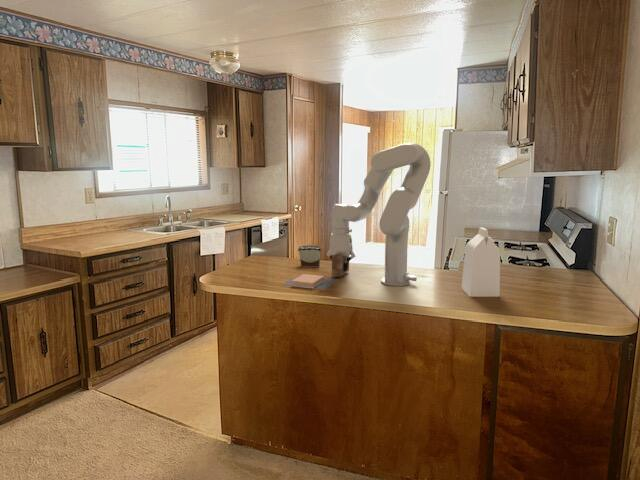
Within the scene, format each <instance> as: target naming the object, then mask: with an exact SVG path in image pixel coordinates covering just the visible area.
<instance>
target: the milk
mask: <svg viewBox="0 0 640 480" xmlns="http://www.w3.org/2000/svg"><path fill="white" fill-rule="evenodd" d="M488 230H489V229H487V228H485V227H478V232H477V234H476V235H475V236H473V237H472V238H471V239H470V240H469V241H468V242H467V243H466V244H465V248H464V258H463V259H464V260H463V267H462V278H461V290H463V291H464V292H465V293H466V295H468V296H469V298H470V297H481V298H482V297H486V298H487V297H491V298H492V297H494V298H495V297H496V298H497V297H500V294H501V293H500V292H501V291H500V286H501V285H500V284H501V281H500V280H501V249H500V247H499V246H498V245H497V244H496V243H495V240H494V239H493V238H492V237H491V236H489V233H488Z"/></svg>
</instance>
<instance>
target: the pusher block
mask: <svg viewBox="0 0 640 480" xmlns="http://www.w3.org/2000/svg"><path fill="white" fill-rule="evenodd" d="M348 257H350V255H349V256H348ZM344 262H345V261H344V256H343V255H334V256H332V260H331V277H337V278H338V277H339V278H340V277H343V275H345V274H347V273H348V272H349V271H350V261H349V262H348V269H347V271H345V272H344Z"/></svg>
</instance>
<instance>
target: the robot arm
mask: <svg viewBox="0 0 640 480" xmlns="http://www.w3.org/2000/svg"><path fill="white" fill-rule="evenodd" d="M431 164H432V162H431V159H430V155H429V153H428V151H427V150H426V148H425V147H423V146H422V145H420V144H418V143H411V142H407V143H406V142H405V143H402V144H399V145H396V146H395V145H394V146H392V147H390V148H387V149H382V150H380V151H378V152H375V154H373V155H372V157H371V159H370V167H371V168H370V170H369V171H368V173H367V175H366V176H365V178H364V180H363V185H364V186H363V187H364V190H363V193H362V195H361V197H360V198H359V200H358V202H357V203H354V204H350V205H348V204H347V203H334V204H333V205H332V208H331V210H332V211H331V214H332V219H331V221H332V222H331V223H332V224H331V225H332V229H331V230H332V232H331V234H330V238H329V247H328V250H327V252H326V253H325V254H326V256H327V257H329V259H331V261H332V256H334V255H343V256H344V261H345V262H344V272H345V271H347V269H348V262H349V263H350V261H351V260H352V259H354V258H355V257H356V255H355V253H354V250H353V248H354V247H353V238H352V234H351V233H352V231H353V230H352V229H350V222H352V223H353V222H354V223H357V222H360V221H362V220H366V219H367V218H368V216H369V215H370V213H371V212H372V210H373V209H374V207H375V206H376V204H377V202H378V200H379V197H380V195H381V191H382V189H383V188H384V186H385V184H386V183H387V181H388V180H389V179H390V176H391V175H392V173H393V172H394V170H396V169H399V168H402V167H406V166H409V168H408V170H407V172H406V174H405V176H404V179H403V180H402V181H403V182H402V183H401V185H400V187H399V188H398V189H395V190H394V191H393V192H391V195H389V198H388V200H387V202H386V204H385V207H384V209H383V212H382V214H381V215H380V216H381V217H380V219H379V229H380V232H381V233H382V234H384V235H385V239H384V240H385V241H384V243H385V244H384V277H382V278H381V279H380V282H381V284H383V285H385V286H391V287H404V286H405V287H406V286H408V285H410V284H411V281H412V282H417V276H415V275H410V274H409V271H408V246H409V245H408V244H409V243H408V242H409V239H408V238H409V232H410V219H409V216H408V214H409V212H410V210H412V209H413V208H414V207H416V205H417V202H418V201H419V198H420V195H421V194H422V191H423V189H424V186H425V184H426V182H427V179H428V177H429V173H430V170H431ZM348 256H349V257H348Z"/></svg>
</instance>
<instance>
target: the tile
mask: <svg viewBox="0 0 640 480" xmlns="http://www.w3.org/2000/svg"><path fill="white" fill-rule="evenodd" d="M300 275H301V276H299V275H298V276H299V277H297V276H296V277H297V278H296V279H294V280H292V286H291V287H295V288H296V287H297V288H305V289H313V288H315V287H316V286H318V285H320V284H321V283H323V282H324V278H325V275H317V274H309V273H307V274H306V273H302V274H300Z"/></svg>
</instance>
